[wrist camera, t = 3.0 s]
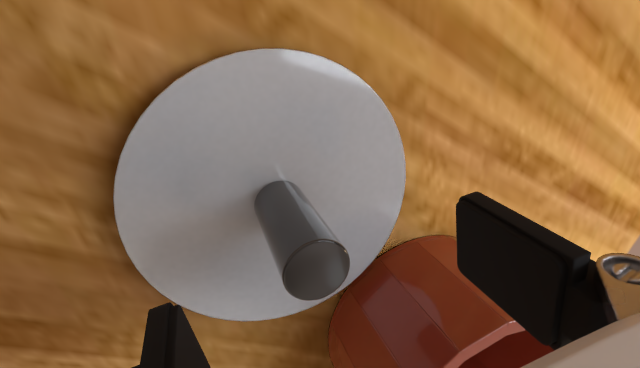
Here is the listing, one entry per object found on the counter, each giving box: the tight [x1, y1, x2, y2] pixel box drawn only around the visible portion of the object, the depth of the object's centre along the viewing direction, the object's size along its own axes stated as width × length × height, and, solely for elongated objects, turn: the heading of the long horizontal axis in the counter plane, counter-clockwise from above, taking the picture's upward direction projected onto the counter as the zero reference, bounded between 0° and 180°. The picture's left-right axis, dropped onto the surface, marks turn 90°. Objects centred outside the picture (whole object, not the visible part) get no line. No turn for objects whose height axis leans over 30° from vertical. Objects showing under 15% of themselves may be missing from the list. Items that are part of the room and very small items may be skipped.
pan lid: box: [113, 48, 406, 321], centre depth 15 cm, size 14×14×7 cm
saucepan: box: [328, 235, 554, 368], centre depth 21 cm, size 13×18×7 cm
